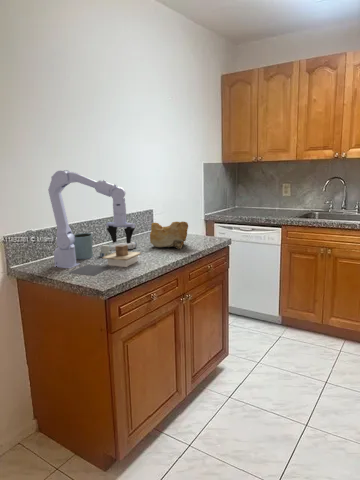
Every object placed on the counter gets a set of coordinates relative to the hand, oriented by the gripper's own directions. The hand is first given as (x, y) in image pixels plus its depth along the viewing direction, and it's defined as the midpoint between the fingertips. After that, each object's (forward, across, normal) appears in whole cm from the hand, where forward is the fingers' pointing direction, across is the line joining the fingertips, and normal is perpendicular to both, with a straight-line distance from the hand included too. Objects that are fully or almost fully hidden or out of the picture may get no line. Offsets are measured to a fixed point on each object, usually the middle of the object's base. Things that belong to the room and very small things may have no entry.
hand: (121, 242), depth 169 cm
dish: (+10, 0, 0) cm, 10 cm away
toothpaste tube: (+11, -15, +20) cm, 27 cm away
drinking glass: (+11, -26, +4) cm, 28 cm away
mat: (+10, -8, -14) cm, 19 cm away
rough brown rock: (+11, +7, +41) cm, 43 cm away
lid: (+6, 0, 0) cm, 6 cm away
